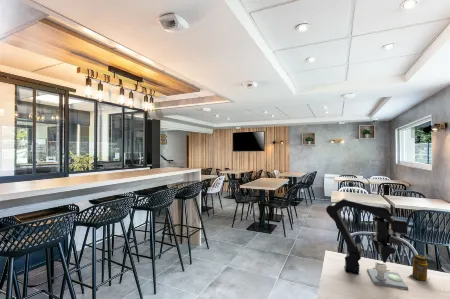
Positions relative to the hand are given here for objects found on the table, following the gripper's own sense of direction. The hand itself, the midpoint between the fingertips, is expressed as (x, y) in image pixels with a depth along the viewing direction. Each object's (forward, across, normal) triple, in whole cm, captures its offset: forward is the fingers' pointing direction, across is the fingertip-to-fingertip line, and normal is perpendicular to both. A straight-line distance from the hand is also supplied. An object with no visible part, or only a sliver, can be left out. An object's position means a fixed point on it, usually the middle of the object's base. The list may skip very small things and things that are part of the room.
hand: (381, 258), depth 124 cm
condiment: (+12, +8, -20) cm, 25 cm away
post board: (+12, +1, -3) cm, 12 cm away
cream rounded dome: (+6, 0, 0) cm, 6 cm away
